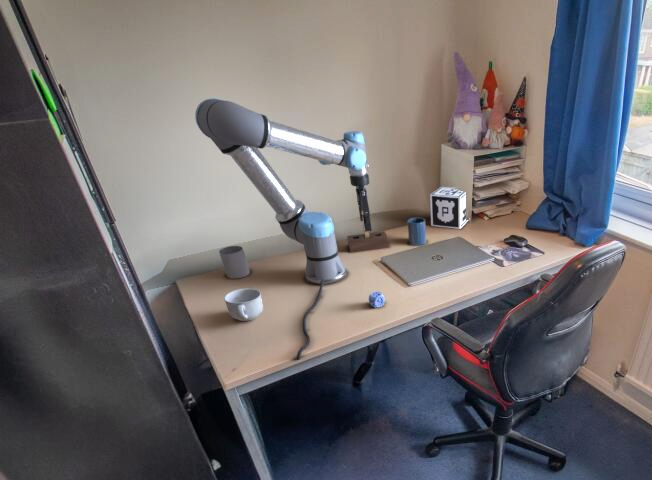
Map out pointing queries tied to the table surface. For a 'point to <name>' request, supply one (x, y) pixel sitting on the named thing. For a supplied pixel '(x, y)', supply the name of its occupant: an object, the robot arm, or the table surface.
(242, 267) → the cup
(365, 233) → the stirrer
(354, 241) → the caddy
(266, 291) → the table surface
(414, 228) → the coffee cup
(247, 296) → the teacup
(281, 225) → the robot arm
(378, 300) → the decorative dice
